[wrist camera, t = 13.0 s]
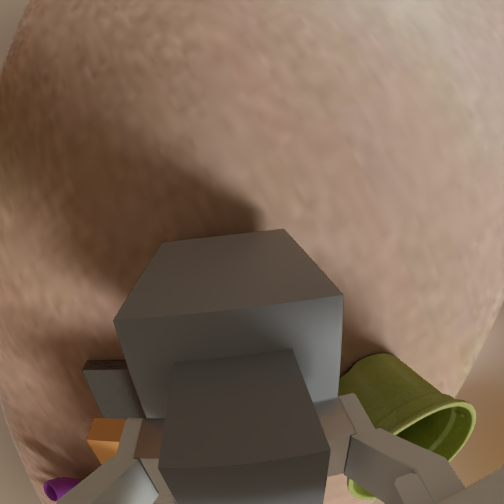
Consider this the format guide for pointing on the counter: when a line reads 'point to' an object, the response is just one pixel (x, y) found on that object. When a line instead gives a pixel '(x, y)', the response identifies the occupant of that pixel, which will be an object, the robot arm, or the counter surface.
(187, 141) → the counter surface
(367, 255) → the counter surface
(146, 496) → the robot arm
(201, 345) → the grey stepped block
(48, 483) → the purple tube coral
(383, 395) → the plant pot
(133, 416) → the pipe stand
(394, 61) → the counter surface
